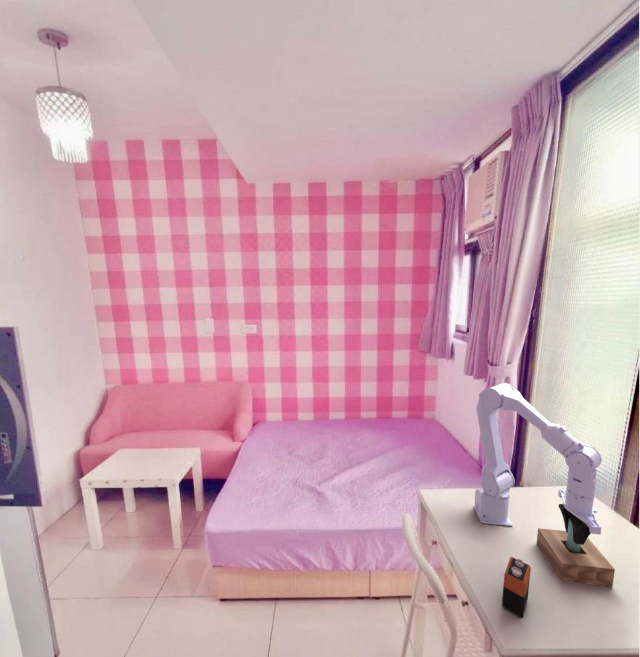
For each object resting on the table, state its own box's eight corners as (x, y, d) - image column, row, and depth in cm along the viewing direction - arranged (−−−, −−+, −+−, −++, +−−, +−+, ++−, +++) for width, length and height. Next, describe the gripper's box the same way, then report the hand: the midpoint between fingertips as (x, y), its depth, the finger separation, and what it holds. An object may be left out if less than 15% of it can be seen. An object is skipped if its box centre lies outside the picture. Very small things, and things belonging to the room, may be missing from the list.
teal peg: (570, 552, 86) (573, 525, 85) (563, 543, 89) (566, 517, 88) (582, 553, 86) (585, 526, 85) (575, 544, 89) (578, 517, 88)
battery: (501, 607, 76) (504, 570, 75) (508, 587, 81) (511, 552, 80) (522, 620, 74) (526, 581, 72) (528, 598, 79) (531, 561, 77)
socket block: (560, 580, 83) (561, 563, 82) (536, 543, 95) (538, 528, 94) (612, 586, 81) (614, 569, 81) (582, 548, 93) (583, 532, 92)
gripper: (617, 512, 77) (611, 562, 79) (579, 476, 92) (574, 520, 93) (584, 509, 78) (579, 559, 80) (552, 474, 93) (547, 517, 95)
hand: (574, 538), depth 87 cm, fingers closed on teal peg, 3 cm apart
